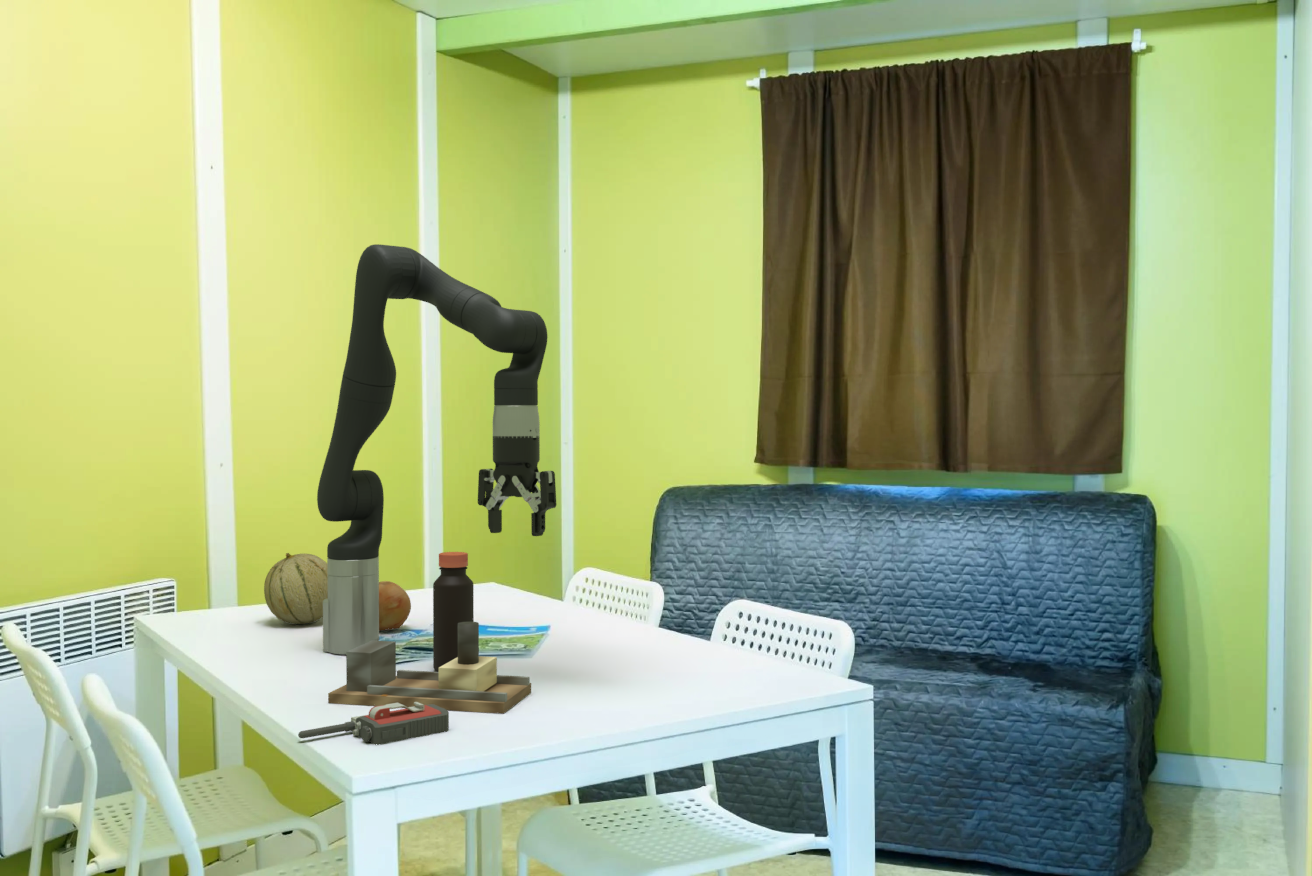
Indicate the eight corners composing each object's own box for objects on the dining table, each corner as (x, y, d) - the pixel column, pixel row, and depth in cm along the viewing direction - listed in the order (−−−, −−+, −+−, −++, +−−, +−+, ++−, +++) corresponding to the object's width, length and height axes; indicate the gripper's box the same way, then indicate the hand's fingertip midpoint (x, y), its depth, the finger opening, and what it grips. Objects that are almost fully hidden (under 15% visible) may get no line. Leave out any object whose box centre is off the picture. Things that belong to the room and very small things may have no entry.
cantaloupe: (353, 622, 246) (352, 550, 245) (297, 633, 233) (296, 558, 233) (304, 615, 253) (304, 545, 253) (248, 625, 241) (247, 552, 241)
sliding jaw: (438, 694, 177) (438, 628, 176) (460, 680, 185) (460, 617, 185) (476, 696, 175) (476, 629, 175) (496, 682, 184) (496, 619, 184)
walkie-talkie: (428, 719, 171) (295, 743, 158) (428, 689, 171) (295, 711, 158) (458, 732, 164) (322, 758, 151) (458, 700, 164) (322, 724, 151)
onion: (421, 628, 238) (421, 579, 238) (388, 637, 229) (388, 586, 229) (384, 624, 243) (384, 576, 242) (350, 632, 234) (350, 582, 234)
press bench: (328, 703, 178) (328, 654, 178) (366, 683, 191) (366, 637, 191) (503, 713, 172) (503, 662, 172) (531, 692, 185) (531, 645, 185)
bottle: (440, 675, 197) (439, 556, 196) (428, 667, 203) (428, 552, 202) (478, 671, 200) (478, 554, 199) (466, 664, 206) (466, 550, 205)
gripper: (466, 433, 189) (467, 534, 190) (537, 434, 182) (537, 539, 182) (496, 433, 196) (497, 530, 196) (565, 433, 188) (566, 534, 189)
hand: (516, 534), depth 189 cm, fingers open, 8 cm apart
